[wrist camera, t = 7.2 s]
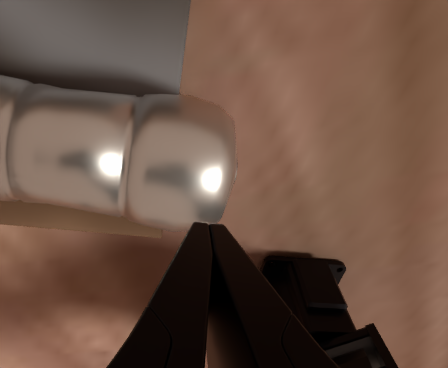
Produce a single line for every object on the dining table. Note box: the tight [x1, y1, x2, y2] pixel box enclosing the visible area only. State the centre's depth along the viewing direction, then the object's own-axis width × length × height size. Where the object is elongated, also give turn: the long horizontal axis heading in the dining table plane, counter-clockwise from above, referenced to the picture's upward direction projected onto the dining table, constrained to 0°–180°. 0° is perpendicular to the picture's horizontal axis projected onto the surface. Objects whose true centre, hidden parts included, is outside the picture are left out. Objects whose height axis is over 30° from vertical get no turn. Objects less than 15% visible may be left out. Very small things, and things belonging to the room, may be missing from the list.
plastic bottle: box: [0, 75, 238, 232], centre depth 15 cm, size 6×7×20 cm
